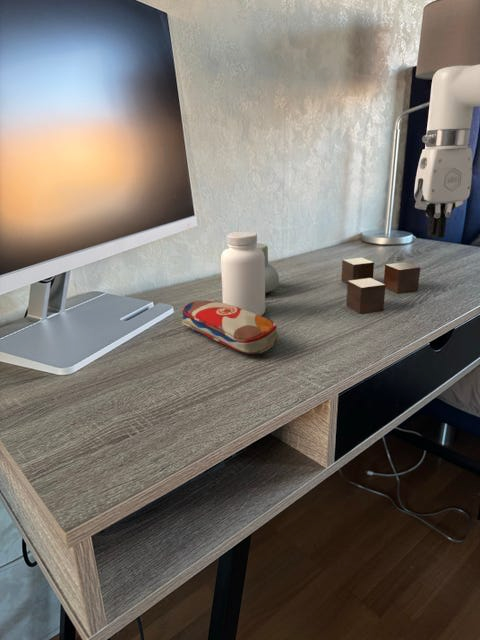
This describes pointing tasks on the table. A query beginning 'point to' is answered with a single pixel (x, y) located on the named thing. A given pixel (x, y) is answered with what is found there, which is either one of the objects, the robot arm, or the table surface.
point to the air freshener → (269, 271)
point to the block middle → (401, 277)
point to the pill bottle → (243, 273)
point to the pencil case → (231, 326)
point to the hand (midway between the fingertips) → (435, 236)
